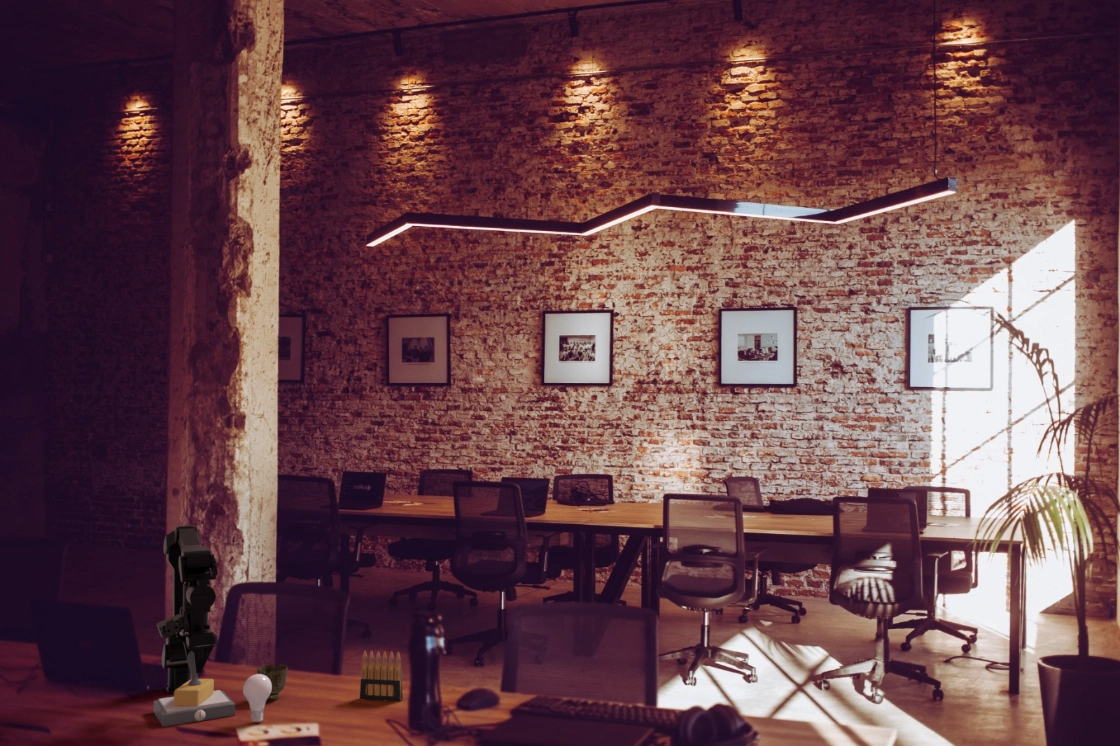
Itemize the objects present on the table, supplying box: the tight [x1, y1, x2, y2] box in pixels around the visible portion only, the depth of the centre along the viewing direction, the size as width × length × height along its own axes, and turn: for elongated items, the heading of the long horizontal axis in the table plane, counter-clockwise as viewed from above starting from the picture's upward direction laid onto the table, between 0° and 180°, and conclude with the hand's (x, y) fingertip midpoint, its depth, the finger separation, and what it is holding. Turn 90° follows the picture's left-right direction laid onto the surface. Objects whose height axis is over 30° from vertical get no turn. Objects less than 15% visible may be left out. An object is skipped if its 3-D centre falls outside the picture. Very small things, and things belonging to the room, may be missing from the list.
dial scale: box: [153, 689, 236, 728], centre depth 227 cm, size 14×16×3 cm
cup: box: [256, 663, 289, 702], centre depth 239 cm, size 8×7×8 cm
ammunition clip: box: [359, 650, 403, 703], centre depth 238 cm, size 11×2×12 cm, turn 80°
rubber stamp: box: [173, 651, 215, 706], centre depth 227 cm, size 10×6×12 cm, turn 179°
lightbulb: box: [242, 673, 272, 724], centre depth 220 cm, size 6×6×11 cm
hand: (194, 668), depth 227 cm, fingers open, 9 cm apart
